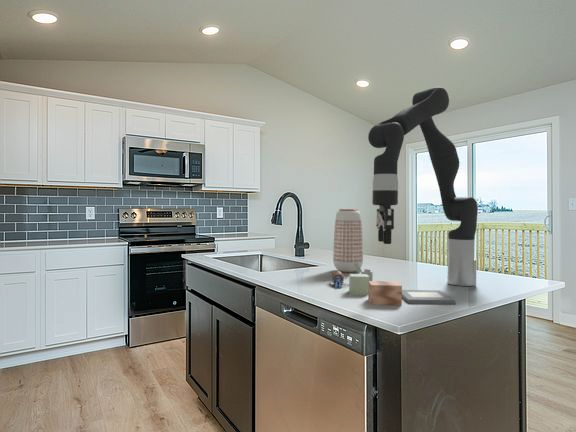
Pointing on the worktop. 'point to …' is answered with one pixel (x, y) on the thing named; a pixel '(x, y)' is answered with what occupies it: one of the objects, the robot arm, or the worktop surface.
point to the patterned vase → (348, 240)
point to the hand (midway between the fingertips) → (384, 242)
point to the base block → (384, 293)
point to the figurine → (337, 279)
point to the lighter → (366, 271)
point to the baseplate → (427, 297)
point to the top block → (358, 283)
